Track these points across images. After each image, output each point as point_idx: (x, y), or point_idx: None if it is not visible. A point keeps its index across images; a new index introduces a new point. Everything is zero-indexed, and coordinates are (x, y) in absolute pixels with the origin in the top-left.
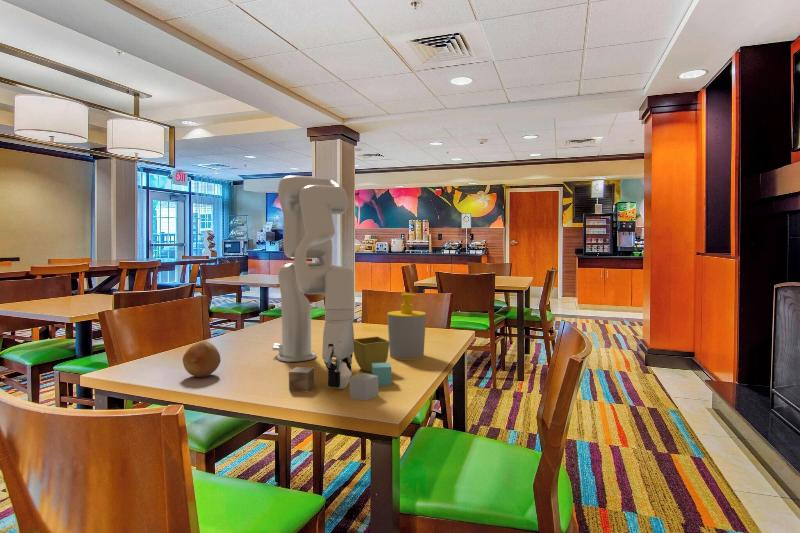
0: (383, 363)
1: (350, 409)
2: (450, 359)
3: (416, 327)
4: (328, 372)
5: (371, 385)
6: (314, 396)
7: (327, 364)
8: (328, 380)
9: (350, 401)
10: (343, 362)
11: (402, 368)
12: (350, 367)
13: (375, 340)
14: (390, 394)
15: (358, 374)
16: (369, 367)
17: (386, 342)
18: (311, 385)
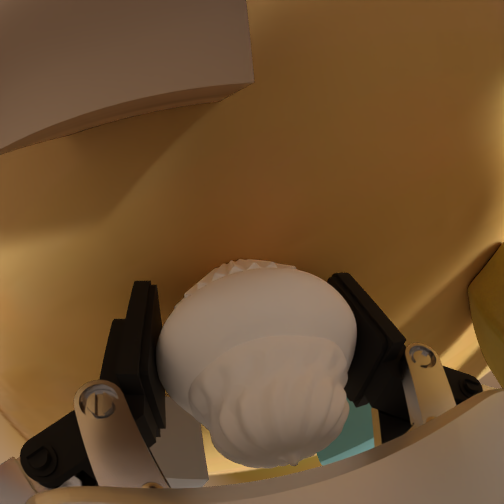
0: None
1: (26, 405)
2: (481, 377)
3: None
4: (119, 367)
5: None
6: (17, 238)
7: (11, 476)
8: (130, 310)
9: (73, 396)
10: (285, 465)
11: (466, 350)
12: (349, 398)
13: None
14: (210, 448)
15: (173, 478)
16: (474, 309)
17: None
18: (144, 112)
